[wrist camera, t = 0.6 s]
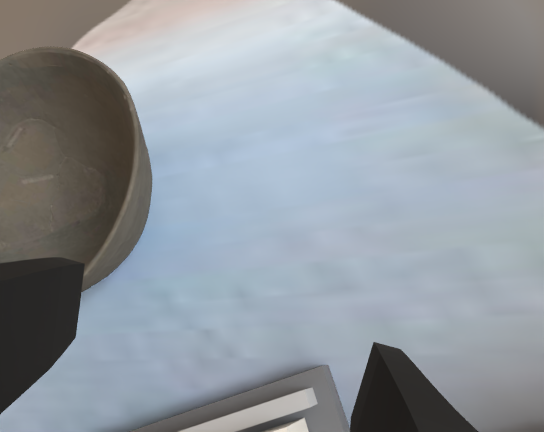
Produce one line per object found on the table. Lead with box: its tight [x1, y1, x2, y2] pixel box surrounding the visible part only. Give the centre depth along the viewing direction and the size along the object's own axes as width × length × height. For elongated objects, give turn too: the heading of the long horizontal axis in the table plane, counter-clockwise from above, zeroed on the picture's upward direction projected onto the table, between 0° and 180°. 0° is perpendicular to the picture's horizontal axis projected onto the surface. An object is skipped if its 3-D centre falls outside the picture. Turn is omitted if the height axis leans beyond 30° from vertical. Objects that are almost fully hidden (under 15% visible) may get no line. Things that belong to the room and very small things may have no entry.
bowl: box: [0, 47, 152, 292], centre depth 35 cm, size 19×19×10 cm
